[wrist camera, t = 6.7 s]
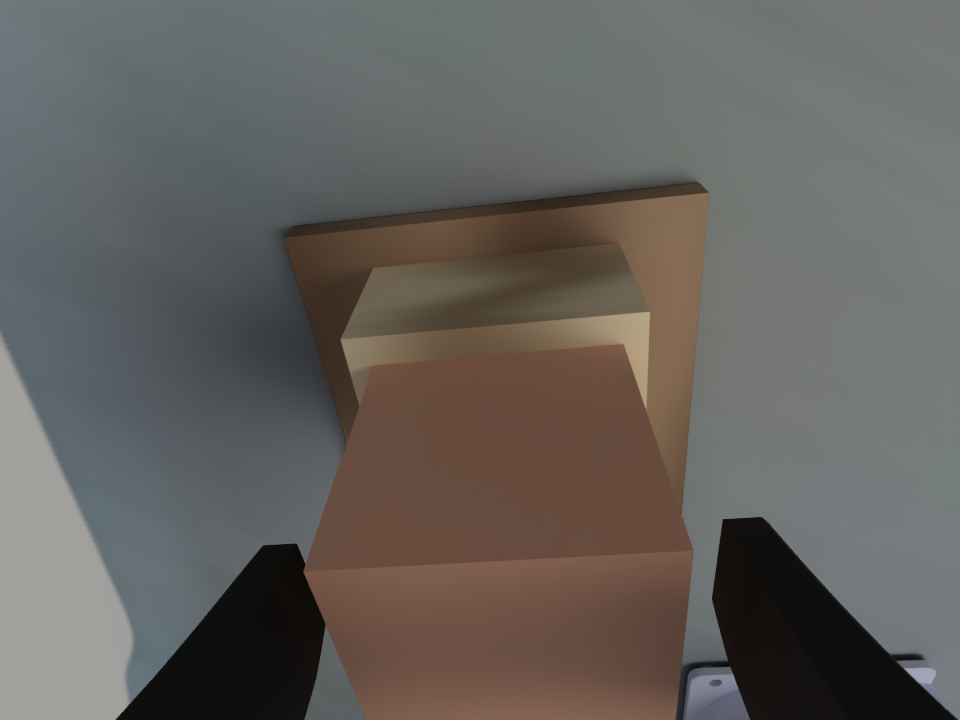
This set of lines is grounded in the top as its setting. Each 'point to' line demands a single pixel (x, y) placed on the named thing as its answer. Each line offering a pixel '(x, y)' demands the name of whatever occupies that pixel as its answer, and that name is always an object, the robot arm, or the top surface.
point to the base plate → (521, 229)
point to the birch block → (499, 310)
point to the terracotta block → (505, 544)
